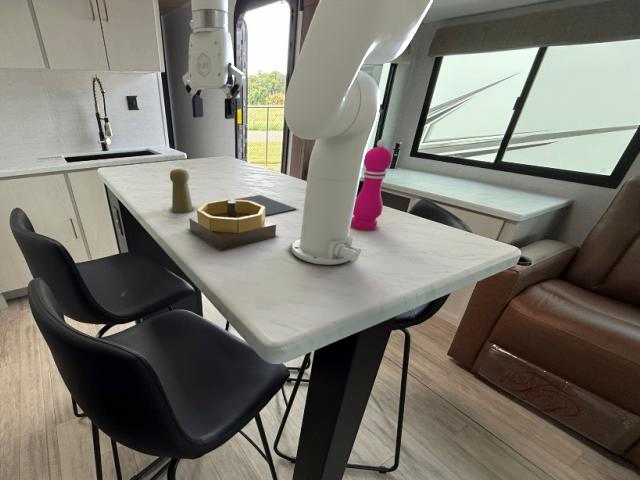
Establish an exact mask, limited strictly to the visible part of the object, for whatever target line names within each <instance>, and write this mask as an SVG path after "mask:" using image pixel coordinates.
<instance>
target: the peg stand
mask: <svg viewBox="0 0 640 480" xmlns="http://www.w3.org/2000/svg"><path fill="white" fill-rule="evenodd" d="M211 216H213V217H227V218H241V217H245V216H250V214H248V213H236V202H235V201H228V202H227V212H225V213H220V214H214V215H211ZM189 230H190V231H191V232H193V233H194V234H196V235H197V236H199V237H200V238H202V239H203V240H205V241H206V242H207V243H209V244H210V245H212V246H214V247H215V248H217V249H218V250H220V251H224V250H228V249H232V248H236V247H240V246H244V245H248V244H252V243H255V242H259V241H264V240H267V239H271V238H275V237H276V234H277V223H275V222H272V221H270V220H268V219H265V220H264V222H263V224H262V227H260V228H258V229H254V230H249V231H245V232H241V233H230V232H218V231H210V230H208V229H207V228H205V227H203V226H202V225H200V224H199V223H198V218H197V216H193V217H189Z"/></svg>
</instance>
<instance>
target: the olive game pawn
mask: <svg viewBox="0 0 640 480" xmlns="http://www.w3.org/2000/svg"><path fill="white" fill-rule="evenodd" d="M169 179H170V181H171V182H172V190H171V191H172V197H171V198H172V199H171V200H172V201H171V210H172V212H174V213H178V214H179V213H180V214H185V213H189V212H192V211H193V210H194V208H193V201H192V197H191V192H190V188H189V183H188V182H189V180H190V173H189V171H187V169H185V168H175V169H171V171H170V173H169Z"/></svg>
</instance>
